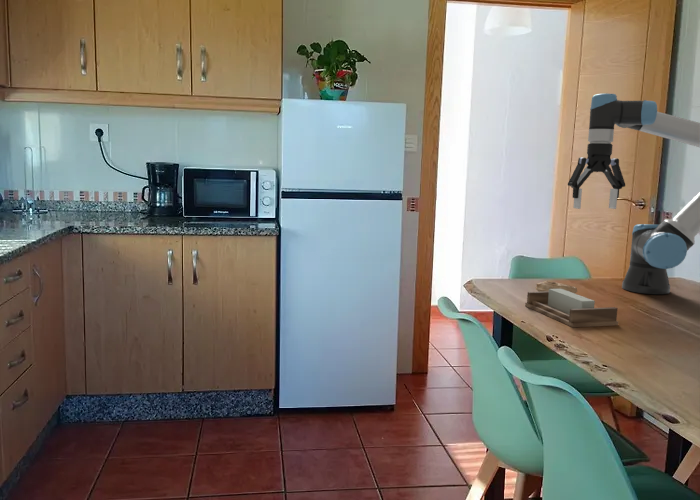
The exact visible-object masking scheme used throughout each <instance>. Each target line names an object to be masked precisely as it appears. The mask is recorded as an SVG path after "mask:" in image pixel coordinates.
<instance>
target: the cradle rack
mask: <svg viewBox="0 0 700 500" xmlns="http://www.w3.org/2000/svg"><path fill="white" fill-rule="evenodd" d="M569 292H571V291H569ZM548 295H549V291H544V292H538V291H528V292H527V295H526V296H527V297H526V302H525V305H524V306H525V307H527V308H528V309H532V310H533V311H535V312H538V313H540V314H542V315H545V316H546V317H549V318H550V319H553V320H556V321H557V322H561V323H562V324H565V325H567V326H569V327H571V328H585V327H587V328H588V327H606V326H607V327H609V326H619V321H618V320H617V319H618V307H615V306H614V307H613V306H611V307H594V308H584V309H570V314H567V313H565V312H562V311H560V310H558V309H555V308H553V307H550V306H548Z"/></svg>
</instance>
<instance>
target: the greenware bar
mask: <svg viewBox="0 0 700 500" xmlns="http://www.w3.org/2000/svg"><path fill="white" fill-rule="evenodd" d="M595 303H596V302H595V300H594V299H590V298H587V296H582V295H579V294H577V293H575V294H574V293H572V292H569V291H566V290H563V289H549V295H548V306H550V307H553V308H555V309H558V310H560V311H562V312H565V313H567V314H570V309H584V308H595Z"/></svg>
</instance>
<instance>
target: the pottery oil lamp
mask: <svg viewBox="0 0 700 500" xmlns="http://www.w3.org/2000/svg"><path fill="white" fill-rule="evenodd" d="M535 285H536V287H535V290H536V292H544V291H549V289H563V290H566V291H571V292H572V293H574V294H577V292H578V288H577V287H575V286H574V285H573V286H572V285H569V284H565V283H561V282H560V283H559V282H556V281H548V280H544V281H541V282H537V283H536V284H535Z"/></svg>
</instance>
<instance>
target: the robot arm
mask: <svg viewBox="0 0 700 500" xmlns="http://www.w3.org/2000/svg"><path fill="white" fill-rule="evenodd" d="M617 97H618V96H617V94H616V93H608V92H607V93H597V94H596V93H595V94H594V95H593V96H592V97H591V103H590V108H589V109H590V111H589V126H588V138H587V142H589V143H588V144H587V149H586V155H587V157H578V159H577V165H576V166H575V169H574V170H573V172H572V174H571V176H570V178H569V180H568V182H567V186H568V187H571V188H572V199H573V206H572V207H573V209H577V210H578V209H579V210H580V209H581V207H582V194H583V188H581V186H582V185H583V184H584V183H585V182H586V181H587V179H588V178H589V177H590V176H591V174H593V173H602V174H604V176H605V178H606V179H607V181H608V182H609V184H610V185H611V188H610V190H609V199H608V200H609V203H608V209H613V210H616V209H617V202H618V199H619V196H620V190H621V189H623V188H624V187H626V182H625V179H624V176H623V173H622V170H621V167H620V159H619V158H613V157H612V158H611V156H612V155H613V144H612V143H613V142H614V136H615V135H614V134H615V132H614V131H615V125H616V126H617V127H619V128H623V129H631V130H634V131H639V132H642V133H646V134H650V135H652V136H653V135H654V136H657V137H660V138H664V139H668V140H672V141H675V142H678V143H681V144H686V145H689V146H693V147H696V148H700V122H699V121H698V122H697V121H694V120H690V119H687V118H684V117H679V116H676V115H671V114H669V113H664V112H660V111H658V104H657V102H656V101H655V100H646V99H644V100H619V99H618V98H617ZM586 165H587V166H586ZM610 165H611V166H610ZM585 166H586V167H585ZM583 170H584V171H583ZM699 233H700V191H699V192H698V193H697V194H696V195H695V196H694V197H693V198H692V199H691V200H690V201H689V202H688V203H686V204H685V206H683V207H682V209H680V211H678V212H677V213H676V215H674V217H672V218H669V219H664V220H662V222H661V223H659V224H655V223H653V224H647V223H641V224H640V223H639V224H635V225H634V226H633V229H632V232H631V236H632V237H631V247H630V257H629V258H630V259H629V267H628V269H627V272H626V274H625V277H624V279H623V280H622V284H621V288H622V289H623V290H626V291H629V292H632V293H637V294H645V295H669V294H670V292H671V285H670V281H669V280H670V279H669V275H668V272H667V270H668V269H669V270H670V269H673V268H675V267H678V266H679V265H681V264H682V263H683V261H684V260H685V259H686V257H687V255H688V254H687V252H688V251H689V249H691V248H692V247H693V246H694V245H695V237H696V236H697V235H698V234H699Z"/></svg>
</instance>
